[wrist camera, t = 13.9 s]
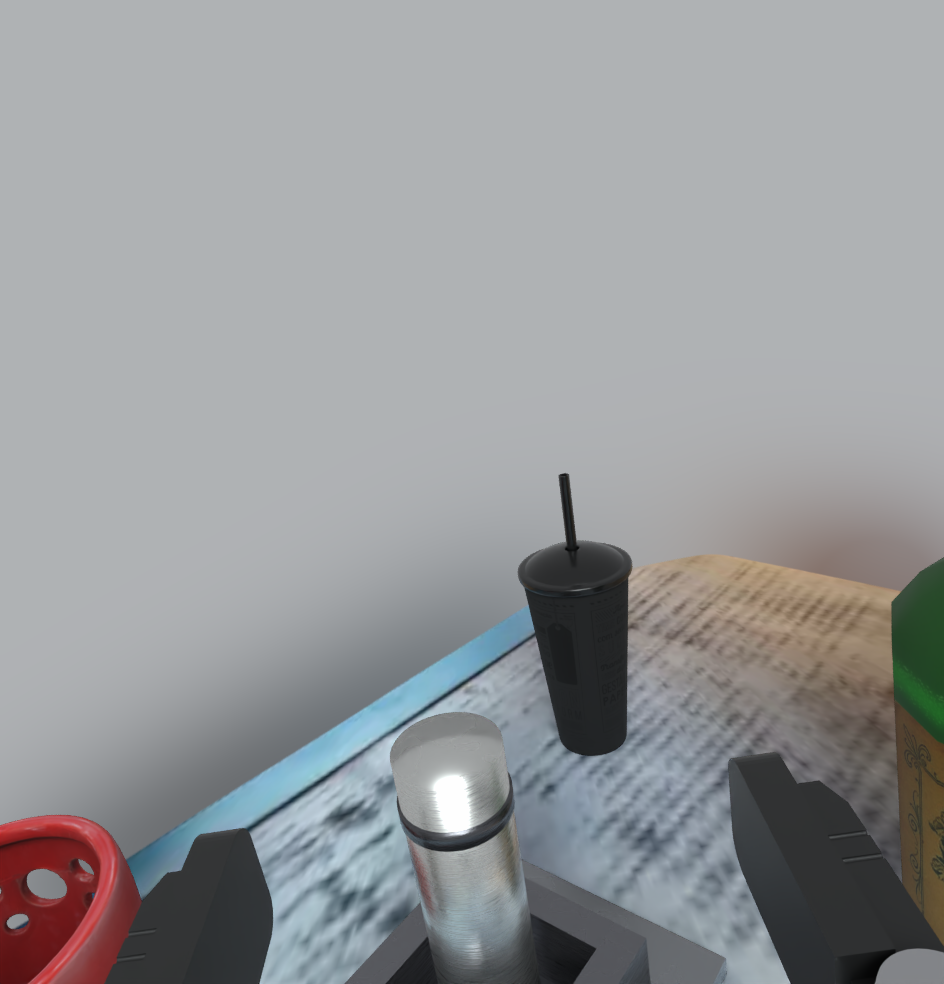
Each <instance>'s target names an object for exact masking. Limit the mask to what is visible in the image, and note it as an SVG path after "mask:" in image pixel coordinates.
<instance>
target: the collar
mask: <svg viewBox="0 0 944 984" xmlns="http://www.w3.org/2000/svg"><path fill="white" fill-rule="evenodd" d="M521 861H522V867H523V873H524V880H525V886H526V893H527V899H528V905H529V912H530V918H531V925H532V931H533V938H534V944H535V950H536V957H537V963H538V970H539V976H540V982H541V984H722V982H723V980H724V978H725V976H726V974H727V971H726V958H724V957H722V956H720V955H718V954H716V953H714V952H712V951H710V950H707V949H705V948H703V947H701V946H699V945H697V944H695V943H693V942H691V941H689V940H687V939H685V938H683V937H681V936H679V935H677V934H674V933H672V932H670V931H668V930H666V929H664V928H662V927H660V926H658V925H656V924H654V923H652V922H650V921H648V920H646V919H643V918H641V917H639V916H637V915H635V914H633V913H631V912H629V911H627V910H625V909H623V908H621V907H619V906H617V905H615V904H612V903H610V902H608V901H606V900H604V899H602V898H600V897H598V896H596V895H594V894H592V893H590V892H588V891H586V890H584V889H582V888H579V887H577V886H575V885H573V884H571V883H569V882H567V881H565V880H563V879H561V878H559V877H557V876H555V875H553V874H551V873H548V872H546V871H544V870H542V869H540V868H538V867H536V866H534V865H532V864H530V863H528V862H526V861H524V860H522V859H521ZM345 984H438V981H437V976H436V971H435V967H434V962H433V958H432V953H431V948H430V944H429V939H428V934H427V930H426V925H425V920H424V916H423V911H422V906H421V902H420V904H419V905H418V906H417V907H416V908H415V909H414V910H413V911H412V912H411V913H410V914H409V915H408V916H407V917H406V919H405V920H404V921H403V922H402V923H401V924H400V925H399V926H398V927H397V928H396V929H395V930H394V931H393V932H392V933H391V935H390V936H389V937H388V938H387V939H386V940H385V941H384V942H383V943H382V944H381V945H380V946H379V947H378V948H377V950H376V951H375V952H374V953H373V954H372V955H371V956H370V957H369V958H368V959H367V960H366V961H365V962H364V963H363V965H362V966H361V967H360V968H359V969H358V970H357V971H356V972H355V973H354V974H353V975H352V976H351V977H350V978H349V979H348V981H347V982H346V983H345Z"/></svg>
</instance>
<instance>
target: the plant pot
mask: <svg viewBox="0 0 944 984" xmlns="http://www.w3.org/2000/svg"><path fill="white" fill-rule="evenodd" d="M78 859H81V860H83V861H85V862H86V863H88V864H89V865H90V866H91V868H92V870H93V872H94V875H92V874H90V873H87V872H86V871H85V870H83V868H82V867H81V866H80V864H79V861H78ZM36 869H48V870H50V871H53V872H55V873H57V874H58V875H59V876H60V877H61V878H62V879H63V880H64V881H65V883H66V885H67V893H66V895H65V896H64V897H62V898H58V899H45V898H40V897H38V896H36V895H34V894H33V893H32V892H31V891H30V889H29V888H28V886H27V875H28V874H29V873H30V872H31V871H33V870H36ZM0 888H1V894H0V984H104V983H105V981H106V979H107V977H108V974H109V972H110V970H111V968H112V966H113V964H116V962H117V958H116V957H117V955H118V953H119V951H120V949H121V946H122V944H123V942H124V940H125V938H128V935H129V933H128V931H129V929H130V927H131V925H132V923H133V920H134V918H135V916H136V914H137V912H138V910H139V908H140V905H141V903H142V901H141V898H140V895H139V892H138V889H137V886H136V883H135V880H134V877H133V875H132V873H131V871H130V868H129V866H128V864H127V862H126V860H125V858H124V856H123V854H122V852H121V850H120V848H119V846H118V845H117V843H116V842H115V840H114V839H113V837H112V836H111V835H110V834H109V832H108V831H107V830H105V829H104V828H103V827H102V826H100V825H99V824H97V823H95V822H93V821H91V820H88V819H85V818H82V817H77V816H71V815H46V816H38V817H32V818H26V819H22V820H17V821H14V822H10V823H7V824H3V825H0ZM92 893H95V896H94V899H93V898H92ZM15 914H25V915H27V916H28V918H29V922H28V924H27V925H26V926H25V927H24V928H21V929H16V930H14V929H10V928H9V927H8V926H7V920H8V919H9V918H10V917H11V916H13V915H15Z"/></svg>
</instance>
